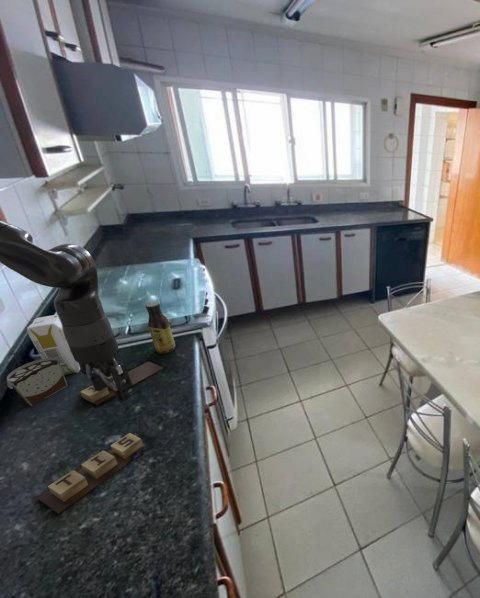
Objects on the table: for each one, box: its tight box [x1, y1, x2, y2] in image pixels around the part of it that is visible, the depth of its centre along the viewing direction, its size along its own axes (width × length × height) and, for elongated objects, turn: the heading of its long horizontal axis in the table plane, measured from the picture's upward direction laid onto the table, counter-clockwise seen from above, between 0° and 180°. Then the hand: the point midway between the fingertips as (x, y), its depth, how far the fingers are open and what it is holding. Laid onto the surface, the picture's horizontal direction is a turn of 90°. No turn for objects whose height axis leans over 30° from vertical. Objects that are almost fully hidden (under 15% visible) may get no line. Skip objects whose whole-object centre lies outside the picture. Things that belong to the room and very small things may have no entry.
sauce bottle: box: [145, 301, 177, 355], centre depth 119 cm, size 7×6×20 cm
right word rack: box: [80, 361, 165, 407], centre depth 106 cm, size 20×8×3 cm, turn 158°
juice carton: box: [26, 314, 81, 376], centre depth 106 cm, size 8×9×19 cm
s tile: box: [109, 432, 144, 459], centre depth 83 cm, size 4×4×3 cm
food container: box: [6, 358, 69, 407], centre depth 97 cm, size 12×6×10 cm, turn 168°
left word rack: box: [36, 432, 138, 516], centre depth 78 cm, size 20×8×3 cm, turn 158°
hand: (112, 394), depth 78 cm, fingers open, 8 cm apart
